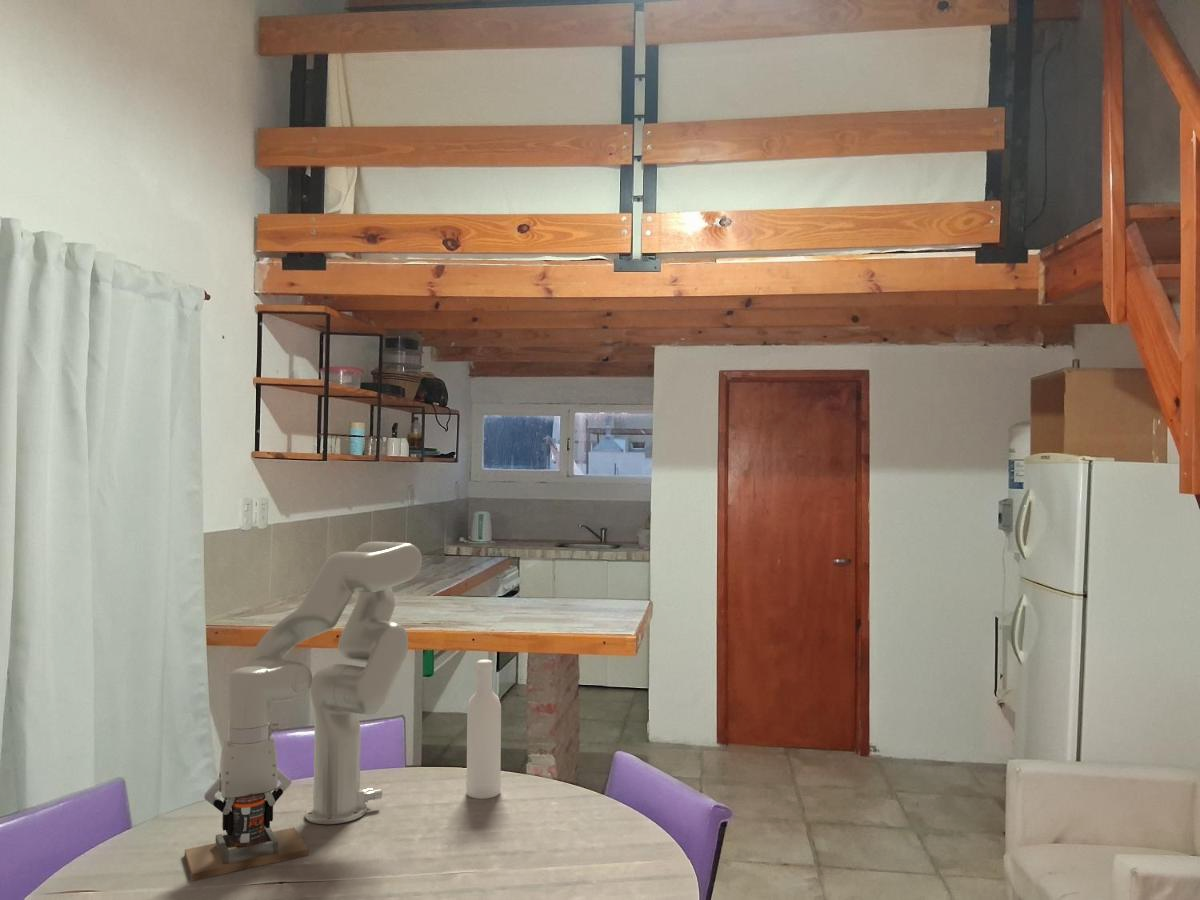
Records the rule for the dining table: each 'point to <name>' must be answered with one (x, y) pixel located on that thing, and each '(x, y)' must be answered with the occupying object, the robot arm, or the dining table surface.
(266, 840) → the cap board
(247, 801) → the supplement bottle
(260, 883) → the dining table surface
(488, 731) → the bottle
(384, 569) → the robot arm
